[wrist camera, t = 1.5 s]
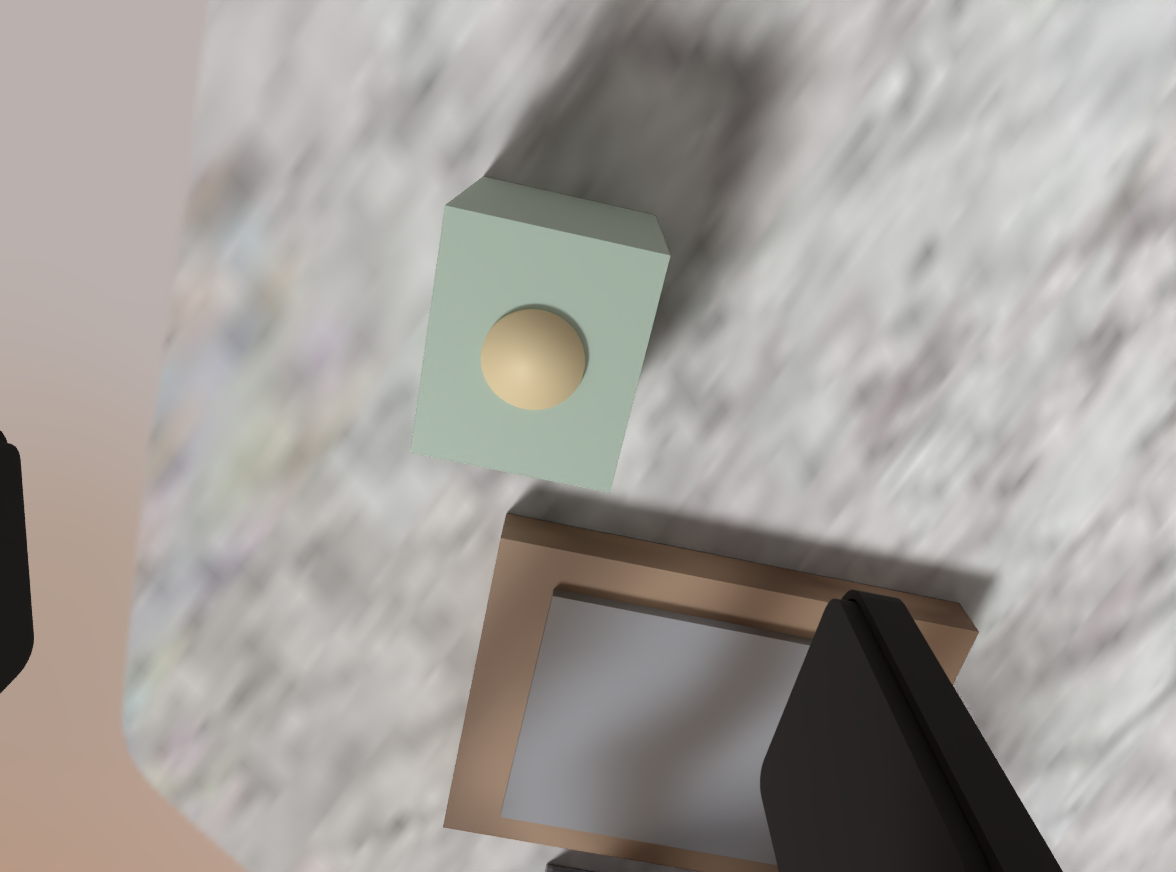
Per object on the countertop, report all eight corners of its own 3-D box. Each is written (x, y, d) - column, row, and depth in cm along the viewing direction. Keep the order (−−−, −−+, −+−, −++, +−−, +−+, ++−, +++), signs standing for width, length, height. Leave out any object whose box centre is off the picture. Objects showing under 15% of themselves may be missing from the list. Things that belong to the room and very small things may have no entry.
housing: (655, 215, 23) (670, 257, 18) (609, 405, 26) (609, 495, 20) (483, 176, 23) (443, 206, 17) (452, 372, 25) (408, 454, 20)
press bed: (959, 603, 28) (984, 639, 26) (835, 860, 33) (848, 906, 32) (506, 513, 27) (499, 544, 25) (450, 793, 32) (440, 836, 30)
